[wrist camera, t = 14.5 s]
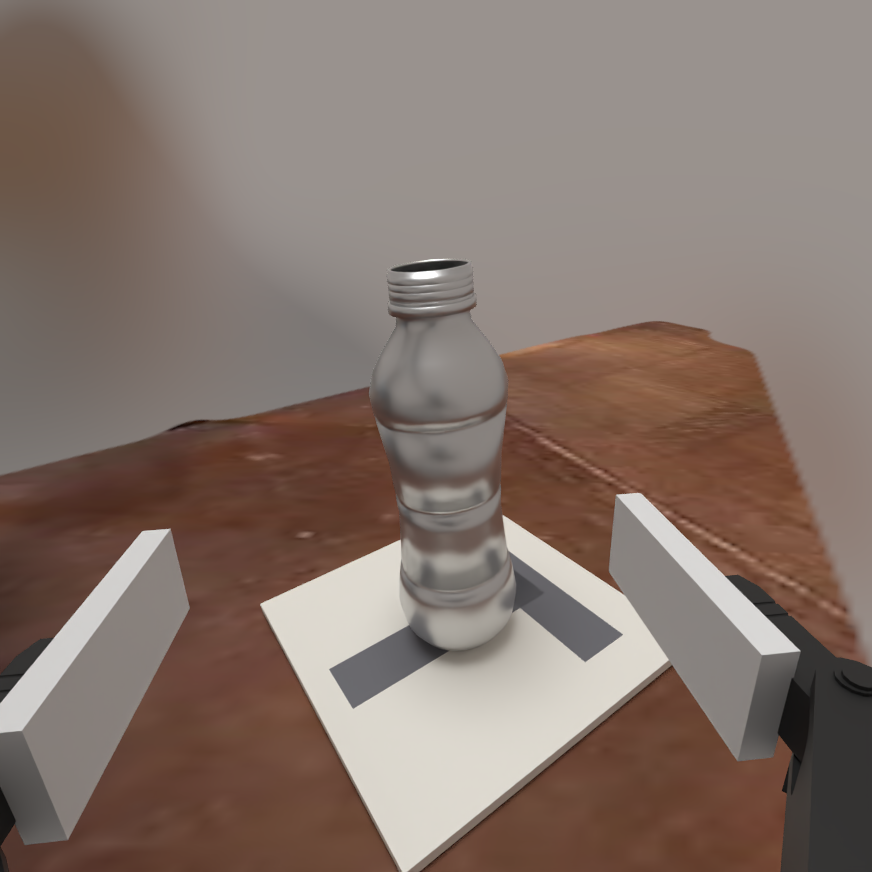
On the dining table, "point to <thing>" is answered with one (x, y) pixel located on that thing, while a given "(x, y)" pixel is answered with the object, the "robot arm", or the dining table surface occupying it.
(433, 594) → the plastic bottle
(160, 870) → the dining table surface
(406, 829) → the letter board
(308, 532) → the dining table surface
